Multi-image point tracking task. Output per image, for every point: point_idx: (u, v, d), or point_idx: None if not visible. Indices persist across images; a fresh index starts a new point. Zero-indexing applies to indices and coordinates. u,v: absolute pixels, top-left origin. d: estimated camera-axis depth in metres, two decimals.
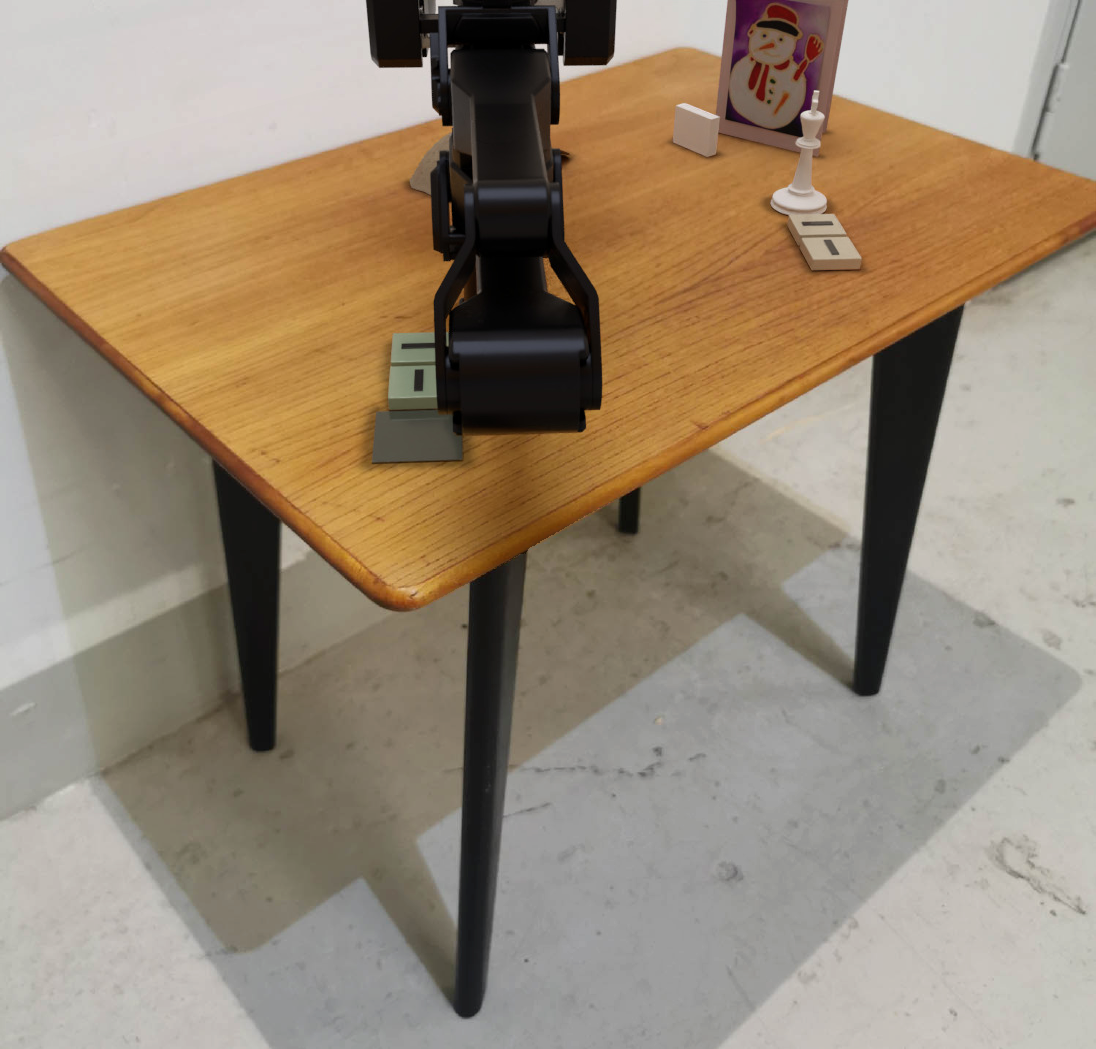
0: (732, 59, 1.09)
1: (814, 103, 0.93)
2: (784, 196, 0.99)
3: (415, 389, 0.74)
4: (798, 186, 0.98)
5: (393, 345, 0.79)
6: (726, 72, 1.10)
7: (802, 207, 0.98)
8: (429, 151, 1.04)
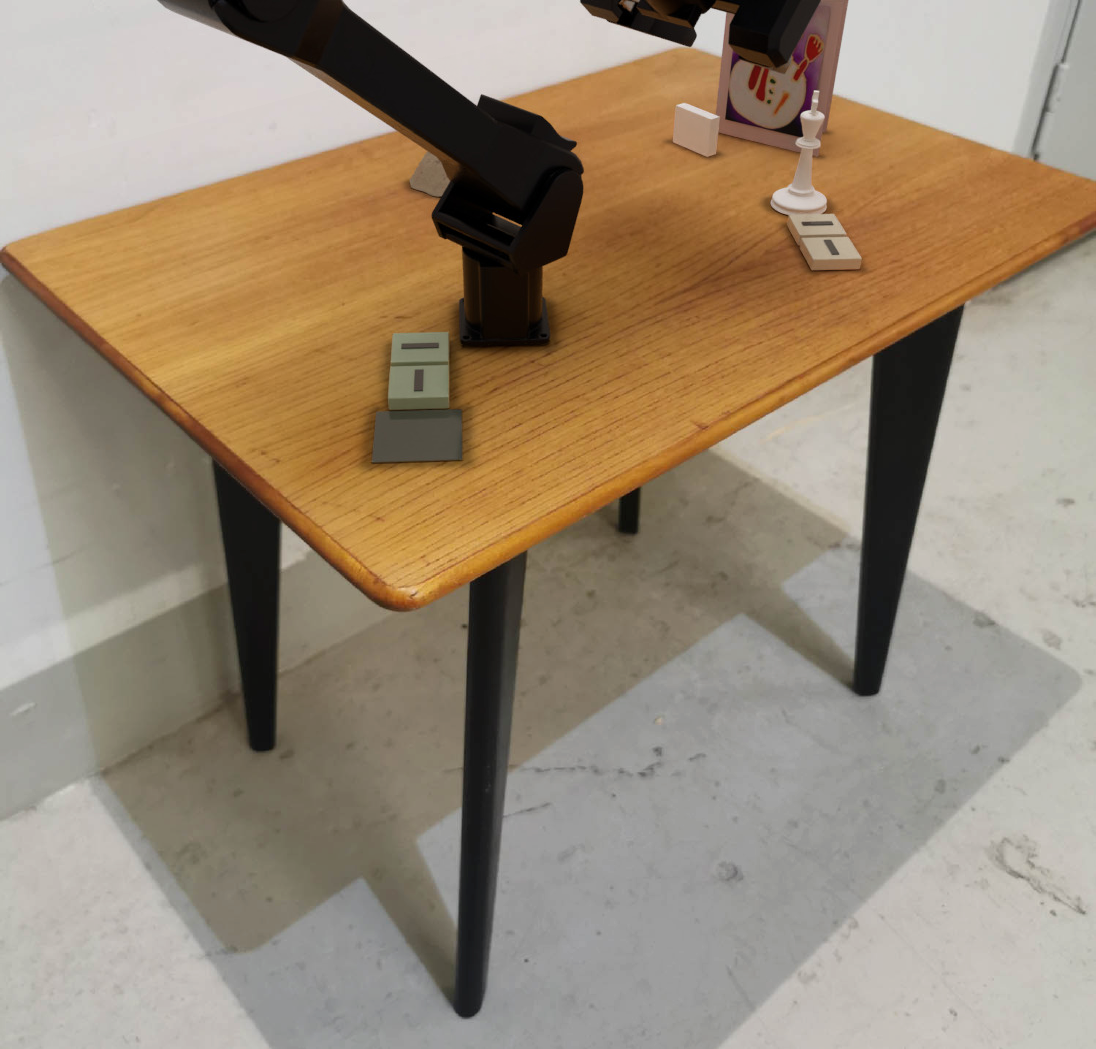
0: (732, 59, 1.09)
1: (814, 103, 0.93)
2: (784, 196, 0.99)
3: (415, 389, 0.74)
4: (798, 186, 0.98)
5: (393, 345, 0.79)
6: (726, 72, 1.10)
7: (802, 207, 0.98)
8: None
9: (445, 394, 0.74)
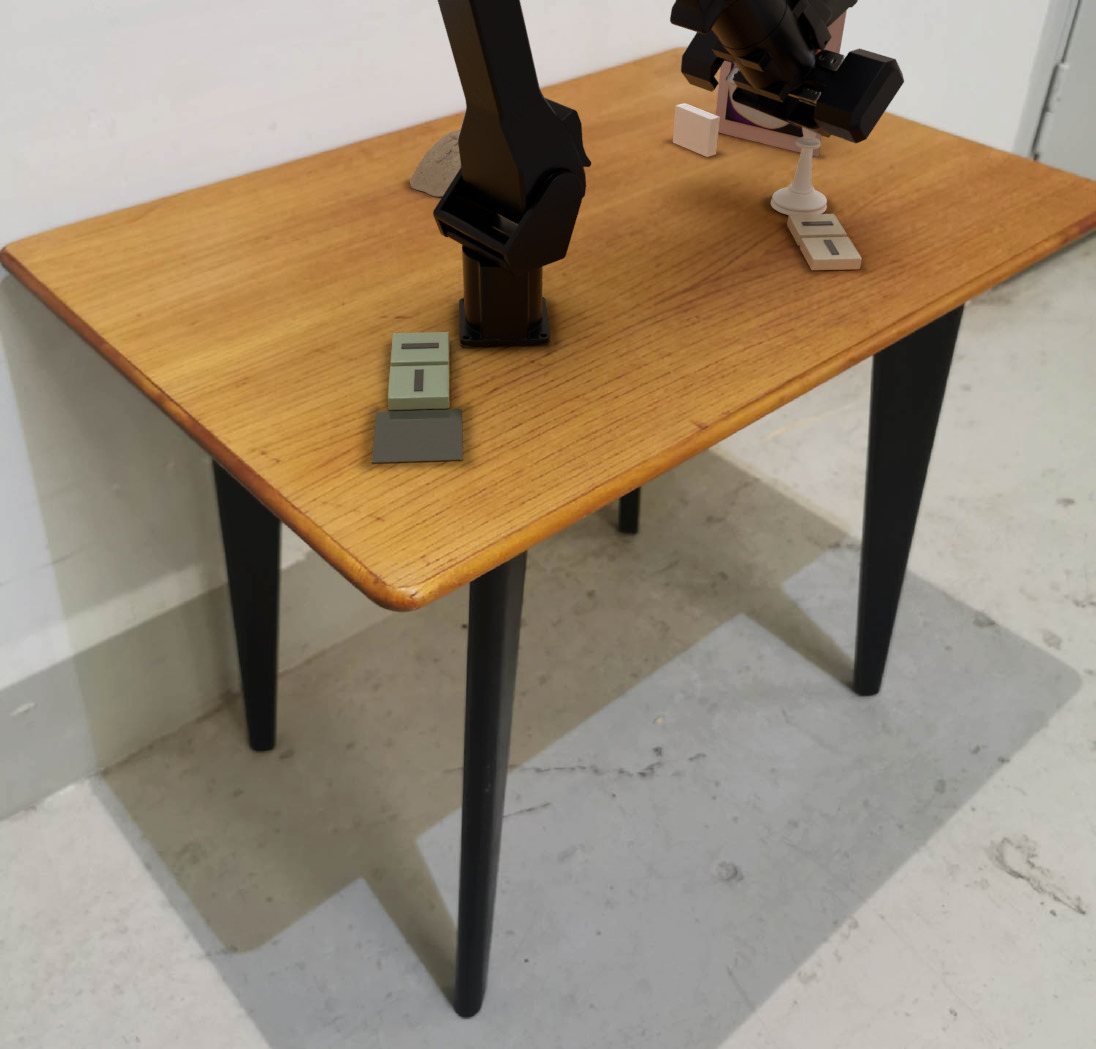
0: None
1: None
2: (784, 196, 0.99)
3: (415, 389, 0.74)
4: (798, 186, 0.98)
5: (393, 345, 0.79)
6: (726, 72, 1.10)
7: (802, 207, 0.98)
8: (429, 151, 1.04)
9: (445, 394, 0.74)
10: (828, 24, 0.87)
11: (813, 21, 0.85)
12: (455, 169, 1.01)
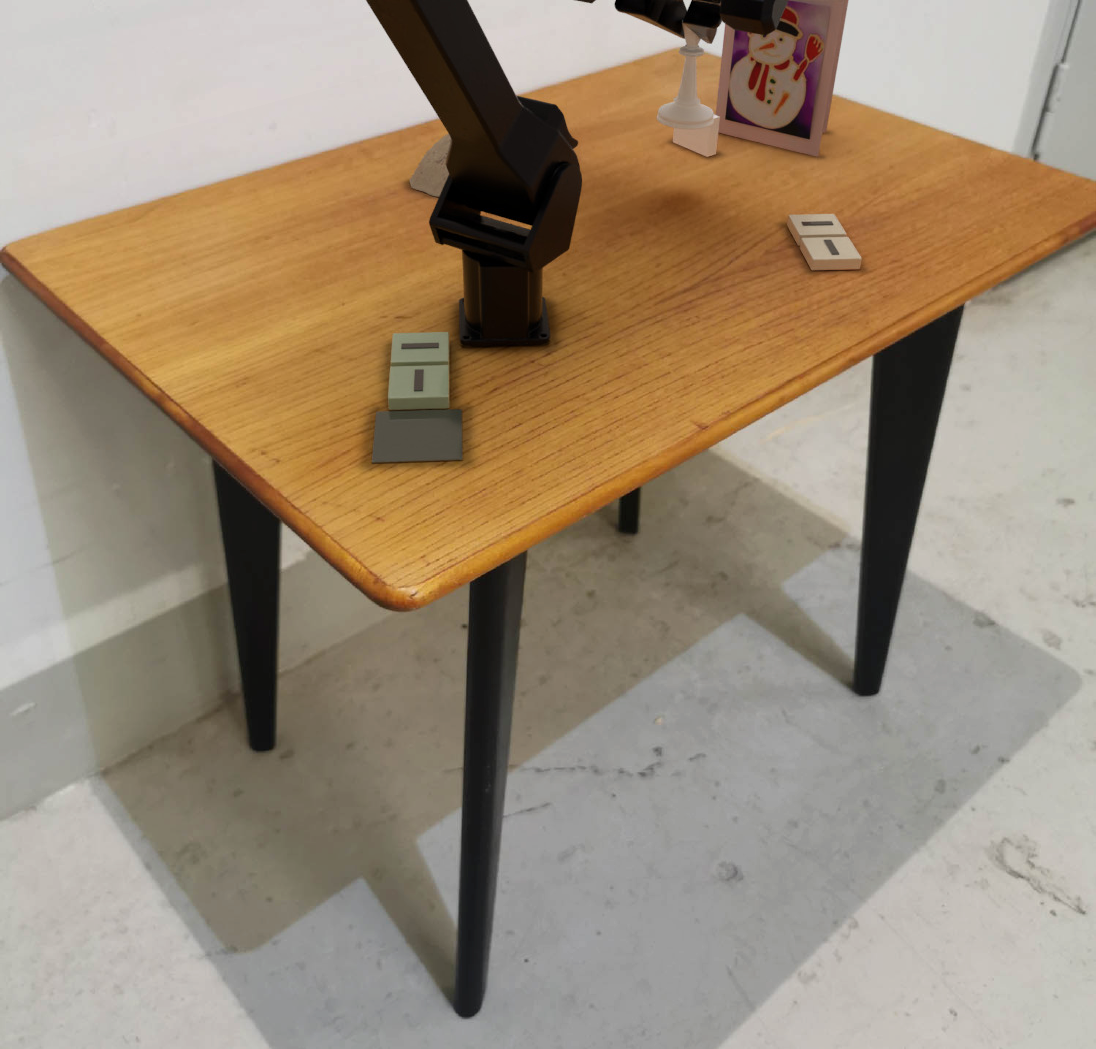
0: (732, 59, 1.09)
1: None
2: (673, 110, 0.95)
3: (415, 389, 0.74)
4: (685, 98, 0.95)
5: (393, 345, 0.79)
6: (726, 72, 1.10)
7: (694, 118, 0.94)
8: (429, 151, 1.04)
9: (445, 394, 0.74)
10: None
11: None
12: None
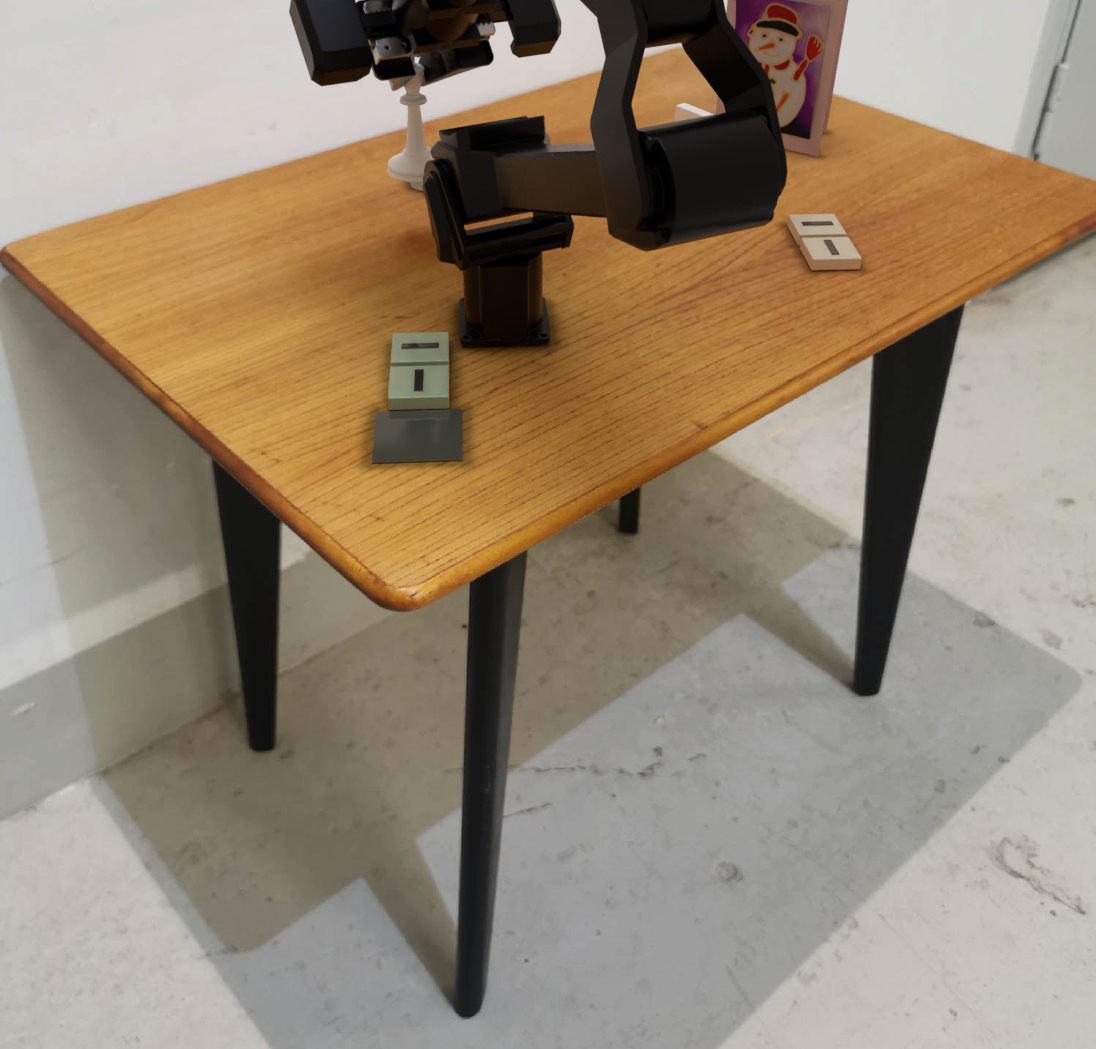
0: None
1: None
2: (418, 165, 0.89)
3: (415, 389, 0.74)
4: (422, 148, 0.89)
5: (393, 345, 0.79)
6: None
7: None
8: None
9: (445, 394, 0.74)
10: None
11: None
12: None
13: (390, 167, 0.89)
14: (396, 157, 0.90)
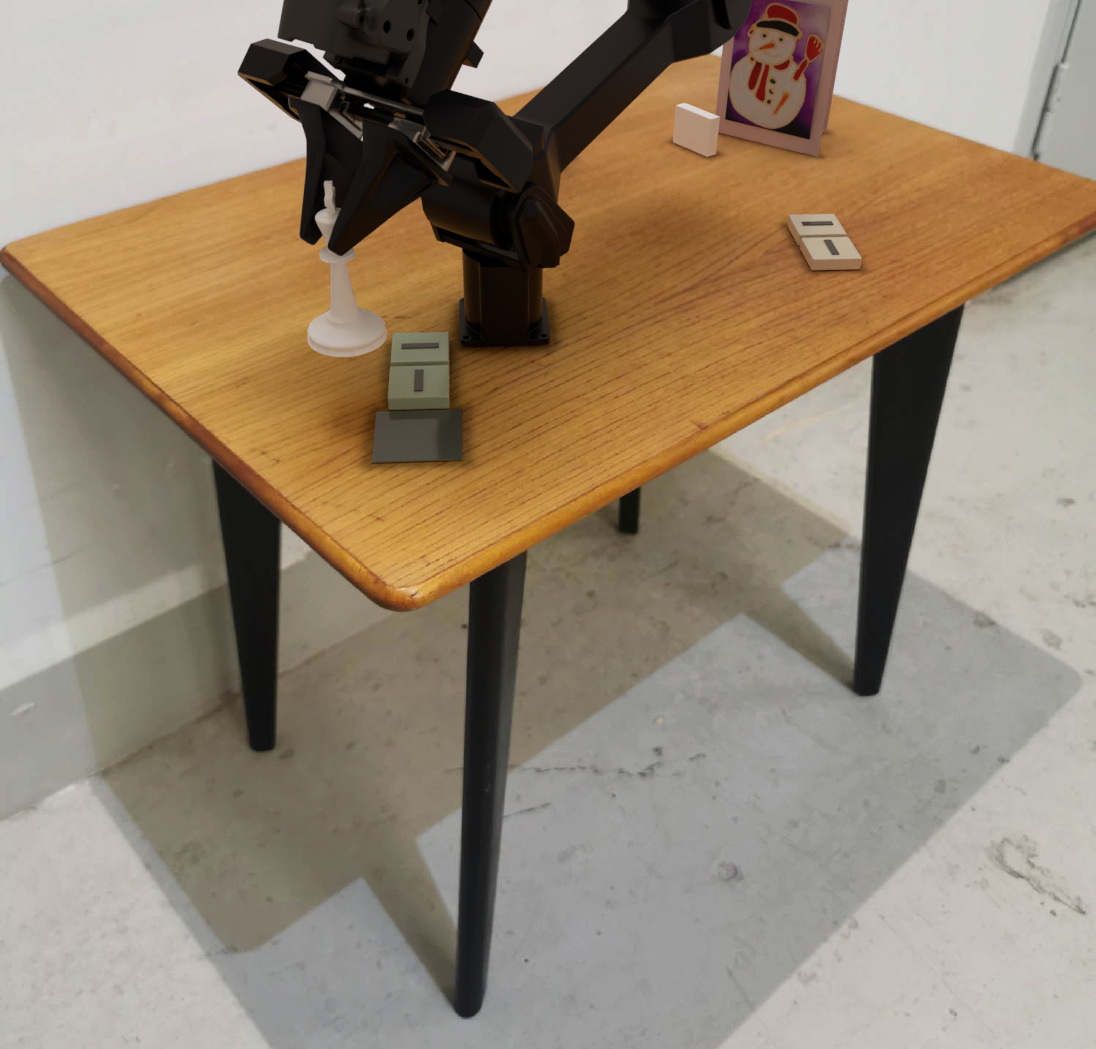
0: (732, 59, 1.09)
1: None
2: (368, 314, 0.70)
3: (415, 389, 0.74)
4: None
5: (393, 345, 0.79)
6: (726, 72, 1.10)
7: None
8: None
9: (445, 394, 0.74)
10: None
11: None
12: None
13: (374, 338, 0.68)
14: (353, 335, 0.68)
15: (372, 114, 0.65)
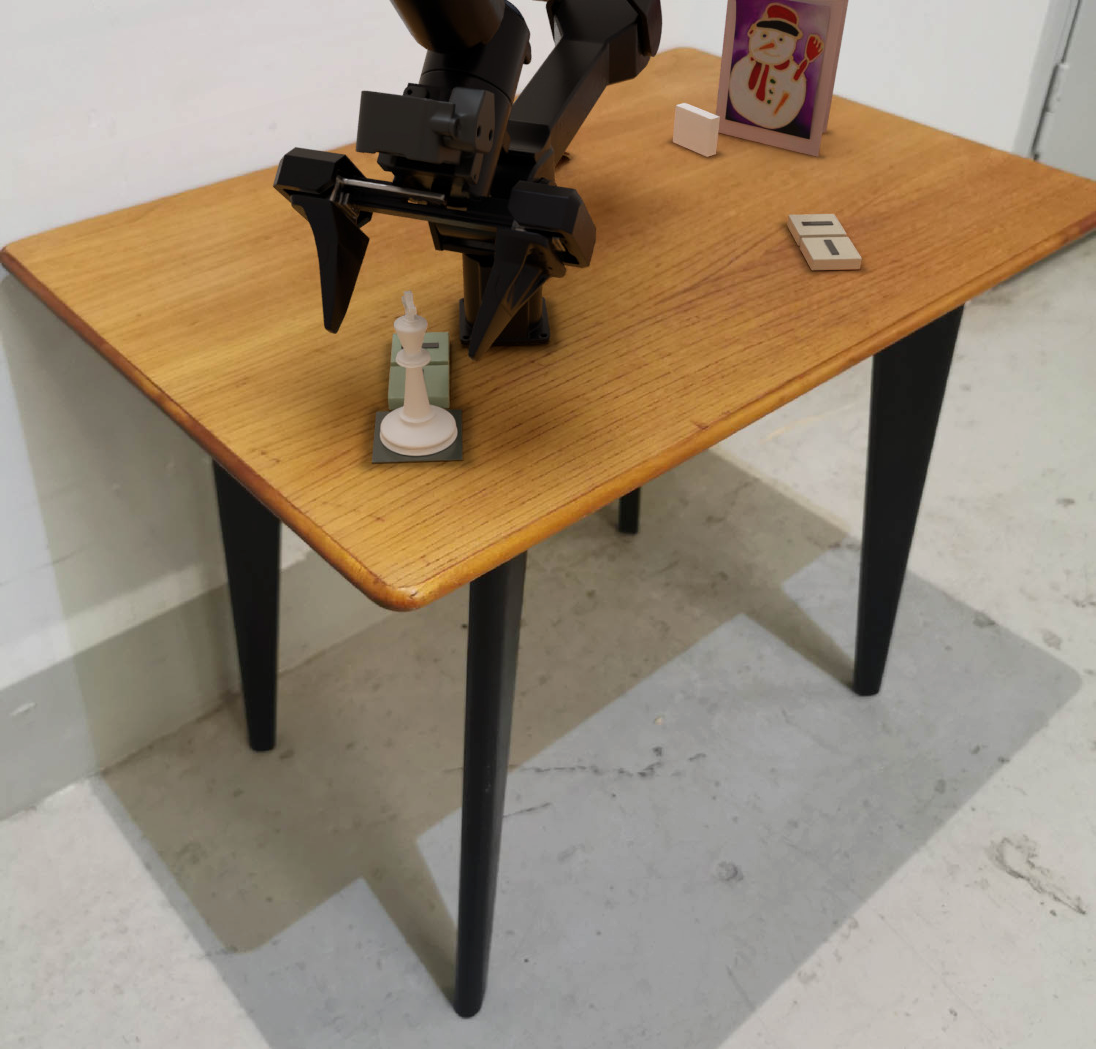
0: (732, 59, 1.09)
1: None
2: None
3: None
4: None
5: (393, 345, 0.79)
6: (726, 72, 1.10)
7: None
8: None
9: (445, 394, 0.74)
10: None
11: None
12: None
13: (452, 431, 0.71)
14: (433, 431, 0.70)
15: (427, 210, 0.66)
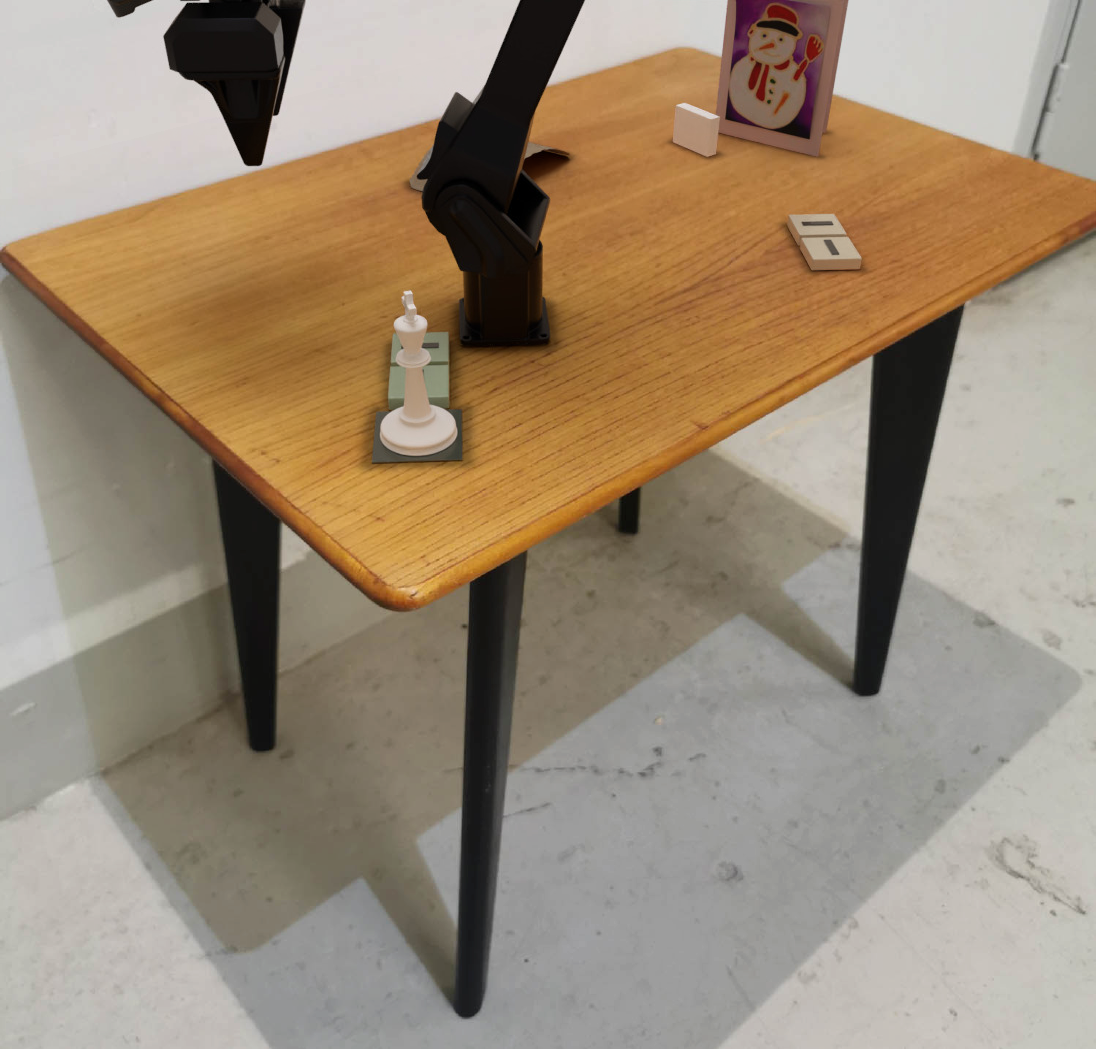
0: (732, 59, 1.09)
1: None
2: None
3: None
4: None
5: (393, 345, 0.79)
6: (726, 72, 1.10)
7: None
8: (429, 151, 1.04)
9: (445, 394, 0.74)
10: None
11: None
12: None
13: (452, 431, 0.71)
14: (433, 431, 0.70)
15: None
